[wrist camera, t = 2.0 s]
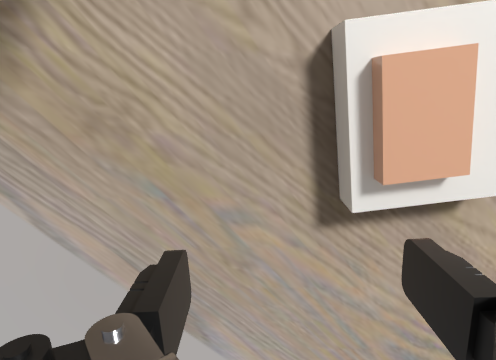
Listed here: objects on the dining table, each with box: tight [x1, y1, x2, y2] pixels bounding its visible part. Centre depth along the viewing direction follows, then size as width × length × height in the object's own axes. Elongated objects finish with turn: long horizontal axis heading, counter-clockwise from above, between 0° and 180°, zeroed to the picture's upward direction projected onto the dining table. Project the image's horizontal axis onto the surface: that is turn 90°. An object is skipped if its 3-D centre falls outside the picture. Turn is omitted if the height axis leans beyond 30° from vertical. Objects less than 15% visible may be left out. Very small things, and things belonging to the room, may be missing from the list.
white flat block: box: [331, 0, 496, 213], centre depth 29 cm, size 16×14×4 cm
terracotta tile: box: [372, 43, 479, 185], centre depth 26 cm, size 10×7×2 cm
